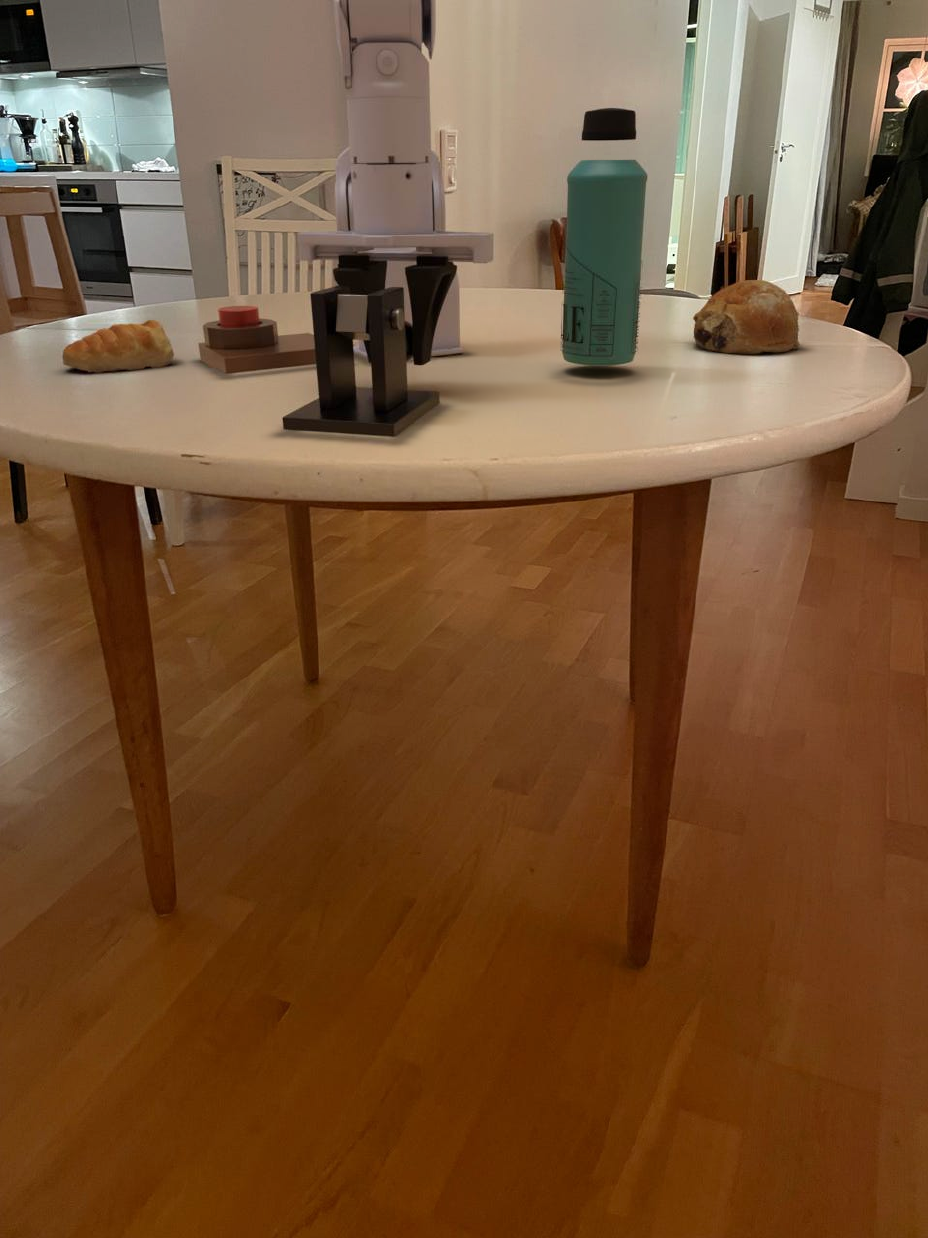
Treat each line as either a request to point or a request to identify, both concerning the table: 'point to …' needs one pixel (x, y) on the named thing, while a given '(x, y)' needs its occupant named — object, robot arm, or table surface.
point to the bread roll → (748, 320)
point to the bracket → (338, 395)
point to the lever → (361, 320)
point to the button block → (254, 347)
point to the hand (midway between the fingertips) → (399, 361)
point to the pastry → (121, 348)
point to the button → (238, 316)
